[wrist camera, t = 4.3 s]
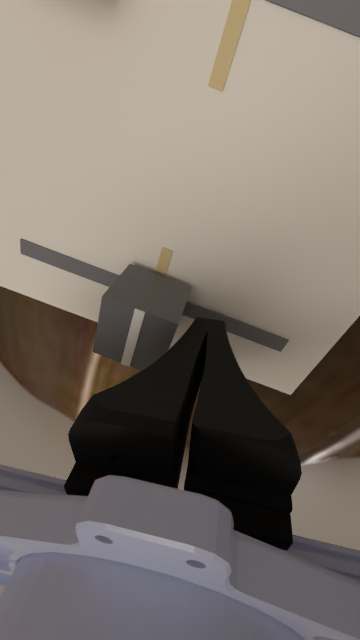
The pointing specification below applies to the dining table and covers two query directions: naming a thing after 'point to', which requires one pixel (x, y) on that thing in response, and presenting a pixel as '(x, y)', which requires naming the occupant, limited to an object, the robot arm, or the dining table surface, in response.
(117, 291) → the fader charcoal
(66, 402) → the dining table surface
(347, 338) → the dining table surface
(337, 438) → the dining table surface
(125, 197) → the console
